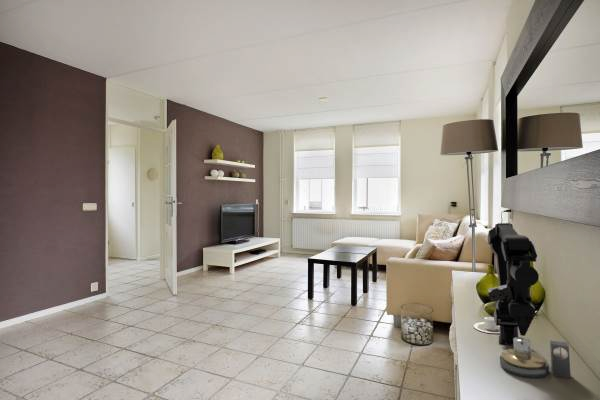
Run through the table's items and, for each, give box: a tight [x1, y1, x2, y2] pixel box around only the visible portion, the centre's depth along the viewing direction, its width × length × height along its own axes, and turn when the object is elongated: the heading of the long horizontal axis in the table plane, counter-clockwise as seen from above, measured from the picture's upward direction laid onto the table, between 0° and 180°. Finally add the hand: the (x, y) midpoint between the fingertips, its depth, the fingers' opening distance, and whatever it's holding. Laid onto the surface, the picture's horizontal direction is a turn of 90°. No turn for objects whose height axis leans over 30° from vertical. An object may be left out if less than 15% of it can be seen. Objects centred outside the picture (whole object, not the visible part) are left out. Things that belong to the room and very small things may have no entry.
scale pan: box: [501, 348, 547, 369], centre depth 104 cm, size 11×11×1 cm
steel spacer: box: [513, 336, 532, 360], centre depth 105 cm, size 4×4×5 cm
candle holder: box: [473, 316, 500, 334], centre depth 137 cm, size 12×12×4 cm
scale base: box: [499, 340, 572, 379], centre depth 103 cm, size 12×17×9 cm
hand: (521, 330), depth 104 cm, fingers open, 9 cm apart
